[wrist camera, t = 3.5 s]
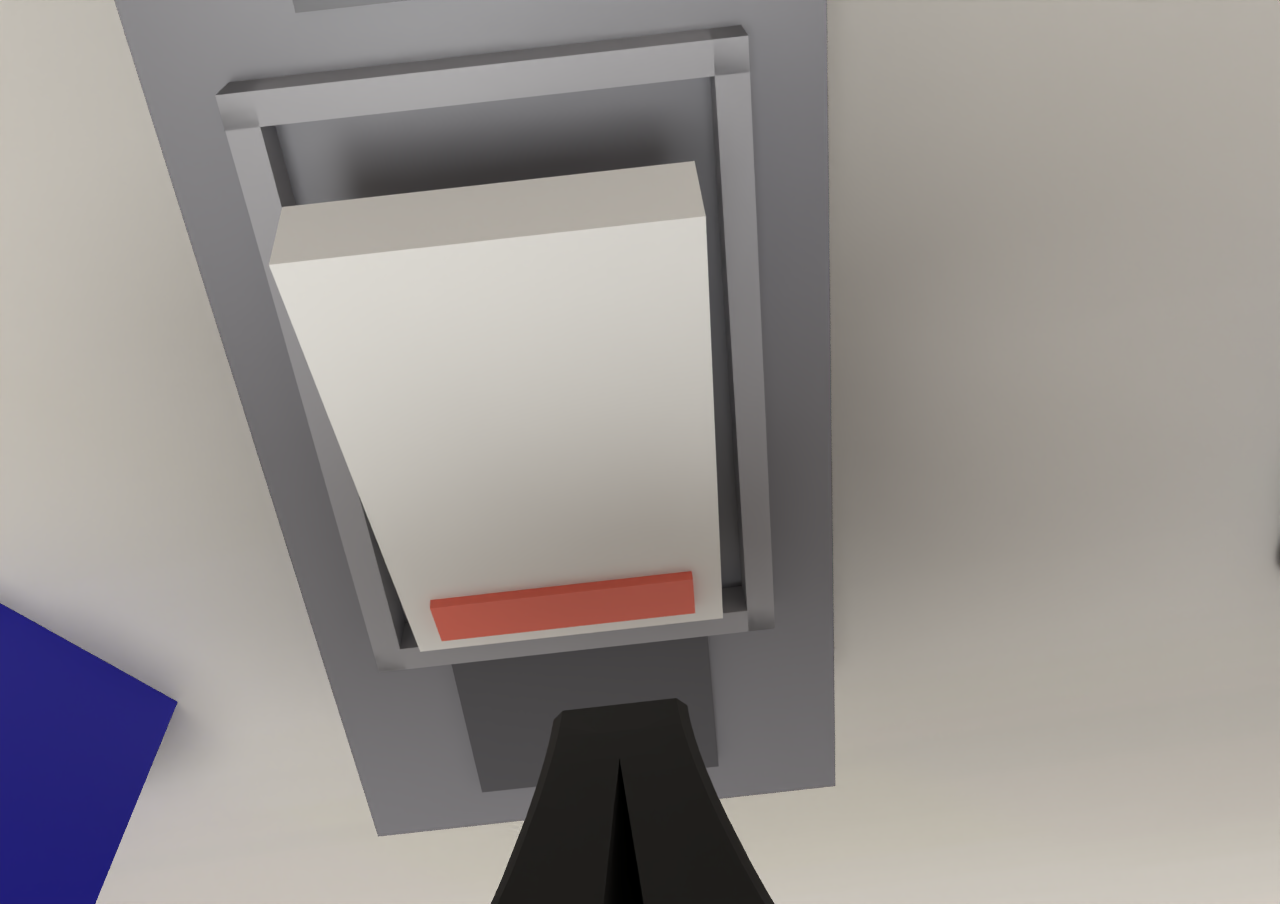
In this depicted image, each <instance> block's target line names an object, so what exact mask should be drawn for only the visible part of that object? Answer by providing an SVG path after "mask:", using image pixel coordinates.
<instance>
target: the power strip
mask: <svg viewBox="0 0 1280 904" xmlns="http://www.w3.org/2000/svg"><path fill="white" fill-rule="evenodd" d="M114 1H115V4H116V7H117V10H118V14H119V17H120V20H121V23H122V26H123V29H124V33H125V36H126V39H127V42H128V45H129V48H130V52H131V55H132V58H133V61H134V64H135V67H136V71H137V74H138V77H139V80H140V83H141V86H142V90H143V93H144V96H145V99H146V102H147V105H148V109H149V112H150V115H151V118H152V121H153V124H154V128H155V131H156V134H157V137H158V140H159V143H160V147H161V150H162V153H163V156H164V159H165V162H166V166H167V169H168V172H169V175H170V178H171V181H172V185H173V188H174V191H175V194H176V197H177V200H178V204H179V207H180V210H181V213H182V216H183V219H184V223H185V226H186V229H187V232H188V235H189V238H190V242H191V245H192V248H193V251H194V254H195V257H196V261H197V264H198V267H199V270H200V273H201V276H202V280H203V283H204V286H205V289H206V292H207V295H208V299H209V302H210V305H211V308H212V311H213V314H214V318H215V321H216V324H217V327H218V330H219V333H220V337H221V340H222V343H223V346H224V349H225V352H226V356H227V359H228V362H229V365H230V368H231V371H232V375H233V378H234V381H235V384H236V387H237V390H238V394H239V397H240V400H241V403H242V406H243V409H244V413H245V416H246V419H247V422H248V425H249V429H250V432H251V435H252V438H253V441H254V444H255V448H256V451H257V454H258V457H259V460H260V463H261V467H262V470H263V473H264V476H265V479H266V482H267V486H268V489H269V492H270V495H271V498H272V501H273V505H274V508H275V511H276V514H277V517H278V520H279V524H280V527H281V530H282V533H283V536H284V539H285V543H286V546H287V549H288V552H289V555H290V558H291V562H292V565H293V568H294V571H295V574H296V577H297V581H298V584H299V587H300V590H301V593H302V596H303V600H304V603H305V606H306V609H307V612H308V615H309V619H310V622H311V625H312V628H313V631H314V634H315V638H316V641H317V644H318V647H319V650H320V653H321V657H322V660H323V663H324V666H325V669H326V672H327V676H328V679H329V682H330V685H331V688H332V691H333V695H334V698H335V701H336V704H337V707H338V710H339V714H340V717H341V720H342V723H343V726H344V729H345V733H346V736H347V739H348V742H349V745H350V748H351V752H352V755H353V758H354V761H355V764H356V767H357V771H358V774H359V777H360V780H361V783H362V786H363V790H364V793H365V796H366V799H367V802H368V805H369V809H370V812H371V815H372V818H373V821H374V824H375V828H376V831H377V834H378V836H387V835H396V834H405V833H414V832H423V831H432V830H441V829H450V828H459V827H468V826H477V825H486V824H495V823H504V822H513V821H522V820H525V818H526V815H527V812H528V810H529V807H530V804H531V801H532V798H533V795H534V792H535V789H536V786H537V783H538V780H539V776H540V773H541V770H542V766H543V763H544V759H545V755H546V752H547V748H548V744H549V740H550V735H551V730H552V725H553V720H554V719H555V718H556V717H557V716H558V715H559V714H560V713H561V712H562V711H564V710H573V709H582V708H591V707H599V706H608V705H617V704H626V703H635V702H644V701H653V700H662V699H671V698H677V699H679V700H680V701H682V702H683V703H685V704H686V705H687V706H688V712H689V717H690V721H691V725H692V729H693V732H694V736H695V739H696V742H697V745H698V748H699V751H700V754H701V756H702V759H703V762H704V764H705V767H706V769H707V772H708V774H709V777H710V779H711V781H712V784H713V786H714V788H715V791H716V793H717V795H718V798H719V799H721V798H731V797H740V796H749V795H758V794H767V793H776V792H785V791H794V790H803V789H812V788H821V787H830V786H835V717H834V626H833V534H832V443H831V352H830V261H829V170H828V79H827V0H114ZM690 161H695V166H696V171H697V175H698V180H699V185H700V190H701V195H702V200H703V205H704V210H705V215H706V234H707V258H708V281H709V304H710V328H711V351H712V374H713V398H714V421H715V444H716V468H717V491H718V514H719V538H720V561H721V584H722V608H723V618H720V619H711V620H702V621H693V622H684V623H675V624H666V625H657V626H648V627H639V628H630V629H621V630H612V631H603V632H594V633H585V634H576V635H567V636H558V637H549V638H540V639H531V640H522V641H513V642H504V643H495V644H486V645H477V646H468V647H459V648H450V649H441V650H432V651H423V652H420V650H419V647H418V645H417V642H416V640H415V637H414V634H413V632H412V629H411V627H410V624H409V622H408V619H407V617H406V614H405V611H404V609H403V606H402V604H401V601H400V599H399V596H398V594H397V591H396V588H395V586H394V583H393V581H392V578H391V576H390V573H389V571H388V568H387V565H386V563H385V560H384V558H383V555H382V553H381V550H380V548H379V545H378V542H377V540H376V537H375V535H374V532H373V530H372V527H371V525H370V522H369V519H368V517H367V514H366V512H365V509H364V507H363V504H362V502H361V499H360V496H359V494H358V491H357V489H356V486H355V484H354V481H353V479H352V476H351V473H350V471H349V468H348V466H347V463H346V461H345V458H344V456H343V453H342V450H341V448H340V445H339V443H338V440H337V438H336V435H335V433H334V430H333V427H332V425H331V422H330V420H329V417H328V415H327V412H326V410H325V407H324V404H323V402H322V399H321V397H320V394H319V392H318V389H317V387H316V384H315V381H314V379H313V376H312V374H311V371H310V369H309V366H308V364H307V361H306V359H305V356H304V353H303V351H302V348H301V346H300V343H299V341H298V338H297V336H296V333H295V330H294V328H293V325H292V323H291V320H290V318H289V315H288V313H287V310H286V307H285V305H284V302H283V300H282V297H281V295H280V292H279V290H278V287H277V284H276V282H275V279H274V277H273V274H272V272H271V269H270V267H269V262H270V258H271V253H272V249H273V245H274V240H275V236H276V232H277V227H278V223H279V219H280V214H281V210H282V207H287V206H296V205H305V204H314V203H323V202H332V201H341V200H350V199H359V198H368V197H376V196H385V195H394V194H403V193H412V192H421V191H430V190H439V189H448V188H457V187H466V186H475V185H484V184H493V183H502V182H511V181H520V180H529V179H538V178H547V177H555V176H564V175H573V174H582V173H591V172H600V171H609V170H618V169H627V168H636V167H645V166H654V165H663V164H672V163H681V162H690Z"/></svg>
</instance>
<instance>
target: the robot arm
mask: <svg viewBox="0 0 1280 904" xmlns="http://www.w3.org/2000/svg"><path fill="white" fill-rule="evenodd" d="M491 904H774V902H773V901H772V899H771V897H770V896H769V894H768V892H767V890H766V889H765V887H764V885H763V883H762V882H761V880H760V878H759V876H758V874H757V873H756V871H755V869H754V867H753V866H752V864H751V862H750V860H749V858H748V856H747V854H746V852H745V850H744V848H743V846H742V844H741V842H740V840H739V838H738V836H737V835H736V833H735V831H734V829H733V827H732V825H731V823H730V821H729V819H728V817H727V815H726V813H725V811H724V808H723V806H722V804H721V802H720V800H719V798H718V795H717V793H716V791H715V788H714V786H713V784H712V781H711V779H710V777H709V774H708V772H707V769H706V767H705V764H704V762H703V759H702V756H701V754H700V751H699V748H698V745H697V742H696V739H695V736H694V732H693V729H692V725H691V721H690V717H689V712H688V706H687V705H686V704H685V703H683V702H682V701H680V700H679V699H677V698H671V699H662V700H653V701H644V702H635V703H626V704H617V705H608V706H599V707H591V708H582V709H573V710H564V711H562V712H561V713H560V714H559V715H558V716H557V717H556V718H555V719H554V720H553V725H552V730H551V735H550V740H549V744H548V748H547V752H546V755H545V759H544V763H543V766H542V770H541V773H540V776H539V780H538V783H537V786H536V789H535V792H534V795H533V798H532V801H531V804H530V807H529V810H528V812H527V815H526V818H525V821H524V824H523V826H522V829H521V831H520V834H519V836H518V839H517V841H516V844H515V847H514V849H513V852H512V854H511V857H510V859H509V862H508V864H507V867H506V870H505V872H504V875H503V877H502V880H501V882H500V884H499V887H498V889H497V891H496V894H495V896H494V898H493V900H492V902H491Z"/></svg>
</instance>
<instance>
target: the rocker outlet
mask: <svg viewBox="0 0 1280 904" xmlns="http://www.w3.org/2000/svg"><path fill="white" fill-rule="evenodd" d="M269 267H270V269H271V272H272V274H273V277H274V279H275V282H276V284H277V287H278V290H279V292H280V295H281V297H282V300H283V302H284V305H285V307H286V310H287V313H288V315H289V318H290V320H291V323H292V325H293V328H294V330H295V333H296V336H297V338H298V341H299V343H300V346H301V348H302V351H303V353H304V356H305V359H306V361H307V364H308V366H309V369H310V371H311V374H312V376H313V379H314V381H315V384H316V387H317V389H318V392H319V394H320V397H321V399H322V402H323V404H324V407H325V410H326V412H327V415H328V417H329V420H330V422H331V425H332V427H333V430H334V433H335V435H336V438H337V440H338V443H339V445H340V448H341V450H342V453H343V456H344V458H345V461H346V463H347V466H348V468H349V471H350V473H351V476H352V479H353V481H354V484H355V486H356V489H357V491H358V494H359V496H360V499H361V502H362V504H363V507H364V509H365V512H366V514H367V517H368V519H369V522H370V525H371V527H372V530H373V532H374V535H375V537H376V540H377V542H378V545H379V548H380V550H381V553H382V555H383V558H384V560H385V563H386V565H387V568H388V571H389V573H390V576H391V578H392V581H393V583H394V586H395V588H396V591H397V594H398V596H399V599H400V601H401V604H402V606H403V609H404V611H405V614H406V617H407V619H408V622H409V624H410V627H411V629H412V632H413V634H414V637H415V640H416V642H417V645H418V647H419V650H420V652H423V651H432V650H441V649H450V648H459V647H468V646H477V645H486V644H495V643H504V642H513V641H522V640H531V639H540V638H549V637H558V636H567V635H576V634H585V633H594V632H603V631H612V630H621V629H630V628H639V627H648V626H657V625H666V624H675V623H684V622H693V621H702V620H711V619H720V618H723V608H722V584H721V561H720V538H719V514H718V491H717V468H716V444H715V421H714V398H713V374H712V351H711V328H710V304H709V281H708V258H707V234H706V215H705V210H704V205H703V200H702V195H701V190H700V185H699V180H698V175H697V171H696V166H695V161H690V162H681V163H672V164H663V165H654V166H645V167H636V168H627V169H618V170H609V171H600V172H591V173H582V174H573V175H564V176H555V177H547V178H538V179H529V180H520V181H511V182H502V183H493V184H484V185H475V186H466V187H457V188H448V189H439V190H430V191H421V192H412V193H403V194H394V195H385V196H376V197H368V198H359V199H350V200H341V201H332V202H323V203H314V204H305V205H296V206H287V207H282V210H281V214H280V219H279V223H278V227H277V232H276V236H275V240H274V245H273V249H272V253H271V258H270V262H269Z"/></svg>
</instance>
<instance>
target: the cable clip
mask: <svg viewBox="0 0 1280 904" xmlns="http://www.w3.org/2000/svg"><path fill="white" fill-rule="evenodd" d="M176 705H177V701H175V700H173V699H171V698H170V697H168V696H166V695H164V694H162V693H161V692H159V691H157V690H155V689H153V688H152V687H150V686H148V685H146V684H145V683H143V682H141V681H139V680H137V679H136V678H134V677H132V676H130V675H128V674H127V673H125V672H123V671H121V670H119V669H118V668H116V667H114V666H112V665H110V664H109V663H107V662H105V661H103V660H101V659H100V658H98V657H96V656H94V655H92V654H91V653H89V652H87V651H85V650H83V649H82V648H80V647H78V646H76V645H74V644H73V643H71V642H69V641H67V640H65V639H64V638H62V637H60V636H58V635H56V634H55V633H53V632H51V631H49V630H47V629H46V628H44V627H42V626H40V625H38V624H37V623H35V622H33V621H31V620H29V619H28V618H26V617H24V616H22V615H20V614H19V613H17V612H15V611H13V610H11V609H10V608H8V607H6V606H4V605H2V604H1V603H0V904H95V903H96V900H97V898H98V896H99V893H100V891H101V888H102V886H103V883H104V881H105V878H106V876H107V874H108V871H109V869H110V866H111V864H112V861H113V859H114V856H115V854H116V851H117V849H118V847H119V844H120V842H121V839H122V837H123V834H124V832H125V829H126V827H127V825H128V822H129V820H130V817H131V815H132V812H133V810H134V807H135V805H136V802H137V800H138V798H139V795H140V793H141V790H142V788H143V785H144V783H145V780H146V778H147V776H148V773H149V771H150V768H151V766H152V763H153V761H154V758H155V756H156V754H157V751H158V749H159V746H160V744H161V741H162V739H163V736H164V734H165V731H166V729H167V727H168V724H169V722H170V719H171V717H172V714H173V712H174V709H175V707H176Z"/></svg>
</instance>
